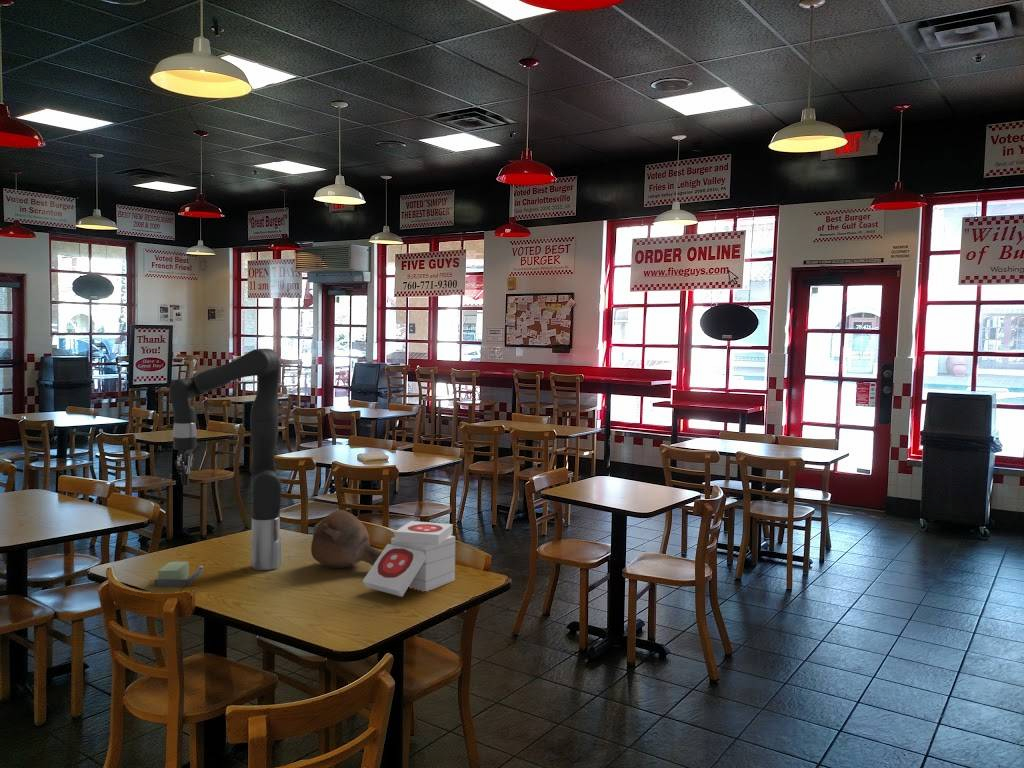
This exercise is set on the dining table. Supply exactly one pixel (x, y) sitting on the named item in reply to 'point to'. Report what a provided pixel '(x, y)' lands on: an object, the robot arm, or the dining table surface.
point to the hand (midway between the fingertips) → (185, 484)
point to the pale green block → (174, 571)
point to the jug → (342, 541)
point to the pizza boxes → (415, 559)
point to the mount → (179, 580)
